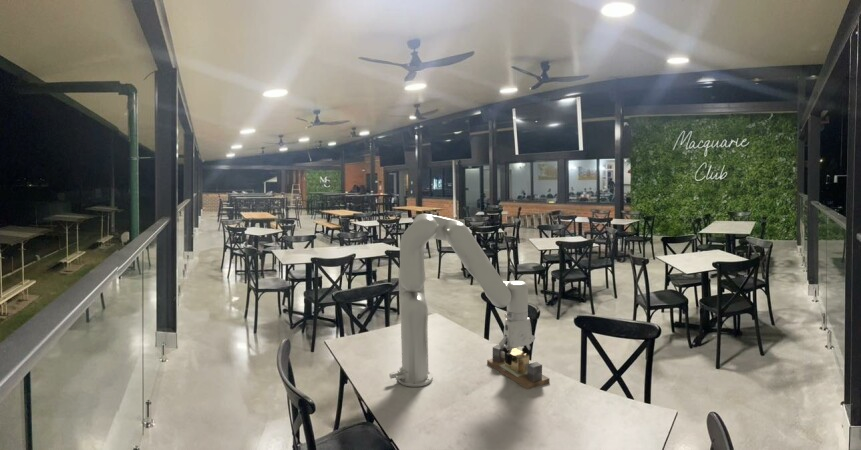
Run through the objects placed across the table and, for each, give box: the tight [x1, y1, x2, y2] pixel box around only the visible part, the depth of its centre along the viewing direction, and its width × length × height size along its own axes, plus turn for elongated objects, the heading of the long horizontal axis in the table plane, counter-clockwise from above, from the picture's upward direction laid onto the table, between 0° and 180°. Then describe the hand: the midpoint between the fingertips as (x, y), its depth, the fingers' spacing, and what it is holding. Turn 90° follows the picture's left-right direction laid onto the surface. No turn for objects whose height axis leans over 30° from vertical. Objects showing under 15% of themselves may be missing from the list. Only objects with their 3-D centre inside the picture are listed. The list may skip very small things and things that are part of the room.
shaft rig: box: [486, 344, 550, 390], centre depth 174 cm, size 10×24×7 cm, turn 27°
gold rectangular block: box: [505, 348, 530, 374], centre depth 174 cm, size 5×8×6 cm, turn 28°
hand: (516, 361), depth 174 cm, fingers open, 7 cm apart
